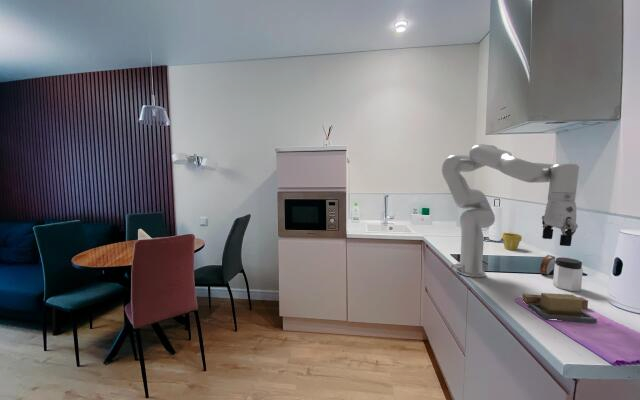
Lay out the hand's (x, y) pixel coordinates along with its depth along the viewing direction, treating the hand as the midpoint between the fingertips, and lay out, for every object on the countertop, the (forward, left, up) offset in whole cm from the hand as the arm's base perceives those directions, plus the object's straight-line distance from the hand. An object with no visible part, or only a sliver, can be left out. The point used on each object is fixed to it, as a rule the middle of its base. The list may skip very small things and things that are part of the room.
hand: (555, 242), depth 100 cm
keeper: (-5, -12, -23) cm, 26 cm away
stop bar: (-5, -12, -22) cm, 26 cm away
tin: (+19, +32, -23) cm, 44 cm away
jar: (+15, +14, -23) cm, 31 cm away
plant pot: (+26, +77, -23) cm, 85 cm away
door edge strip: (-2, -4, -23) cm, 23 cm away
